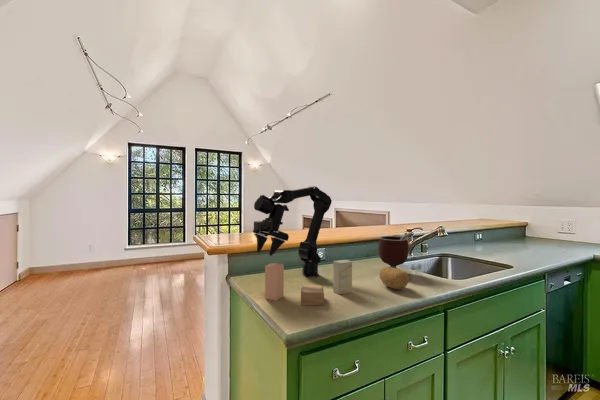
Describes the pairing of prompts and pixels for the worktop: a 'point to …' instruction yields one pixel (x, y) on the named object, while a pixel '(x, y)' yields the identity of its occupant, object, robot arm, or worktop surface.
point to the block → (274, 281)
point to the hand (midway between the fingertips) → (264, 253)
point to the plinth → (312, 295)
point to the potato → (394, 277)
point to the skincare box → (342, 276)
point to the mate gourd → (393, 250)
